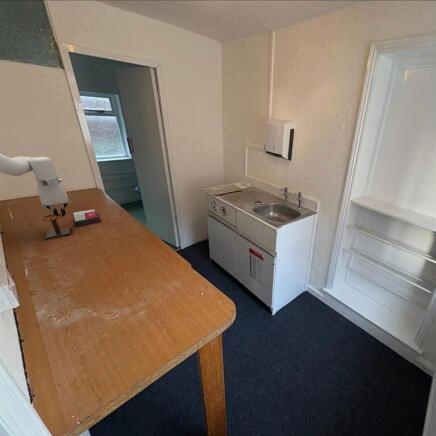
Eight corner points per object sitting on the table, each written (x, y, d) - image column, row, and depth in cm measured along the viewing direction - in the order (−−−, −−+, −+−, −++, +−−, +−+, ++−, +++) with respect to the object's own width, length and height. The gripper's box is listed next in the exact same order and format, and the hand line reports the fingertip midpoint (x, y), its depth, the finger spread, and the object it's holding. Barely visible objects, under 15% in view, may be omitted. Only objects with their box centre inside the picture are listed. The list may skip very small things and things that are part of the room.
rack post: (46, 239, 119) (38, 221, 115) (48, 233, 125) (41, 216, 121) (69, 234, 124) (63, 217, 121) (70, 228, 131) (64, 212, 127)
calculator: (73, 221, 132) (72, 211, 141) (76, 227, 134) (74, 218, 143) (98, 216, 139) (94, 208, 148) (100, 222, 141) (96, 214, 150)
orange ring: (41, 222, 116) (40, 220, 116) (43, 217, 122) (42, 215, 121) (62, 218, 121) (61, 216, 120) (63, 213, 126) (62, 211, 126)
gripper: (69, 179, 123) (80, 211, 130) (26, 182, 114) (40, 217, 121) (69, 182, 118) (80, 215, 125) (24, 186, 109) (39, 221, 116)
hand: (60, 215), depth 123 cm, fingers closed on orange ring, 1 cm apart
